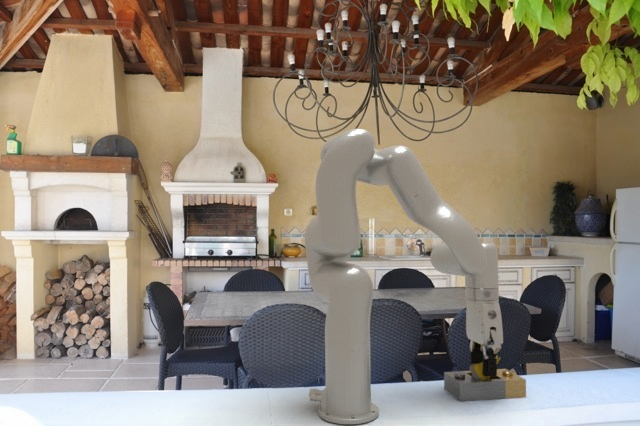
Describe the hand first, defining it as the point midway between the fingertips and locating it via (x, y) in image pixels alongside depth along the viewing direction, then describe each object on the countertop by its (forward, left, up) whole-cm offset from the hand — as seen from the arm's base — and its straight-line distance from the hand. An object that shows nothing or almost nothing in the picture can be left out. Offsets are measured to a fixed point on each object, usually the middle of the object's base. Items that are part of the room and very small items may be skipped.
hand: (483, 371), depth 119 cm
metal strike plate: (0, 0, -5) cm, 5 cm away
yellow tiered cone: (0, 0, -3) cm, 3 cm away
